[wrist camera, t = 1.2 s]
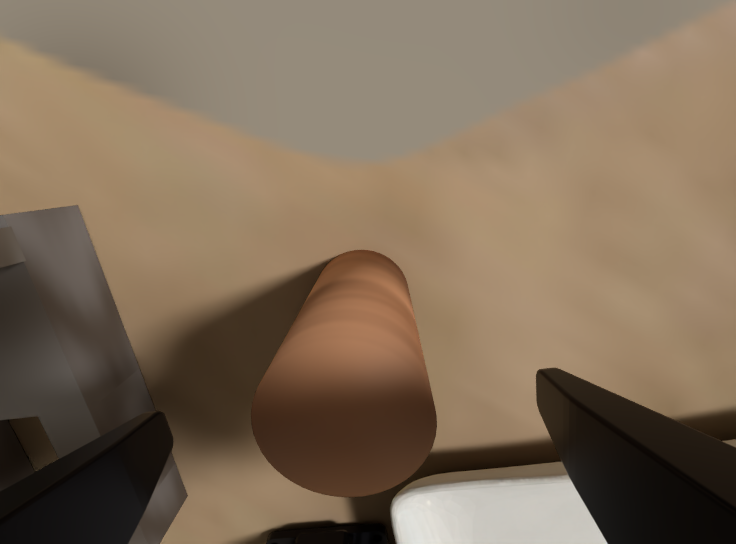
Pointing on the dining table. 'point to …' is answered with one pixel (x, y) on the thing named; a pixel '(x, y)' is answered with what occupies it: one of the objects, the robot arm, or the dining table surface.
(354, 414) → the peg
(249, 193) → the dining table surface
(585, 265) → the dining table surface
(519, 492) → the salad plate
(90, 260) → the socket block
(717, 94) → the dining table surface
